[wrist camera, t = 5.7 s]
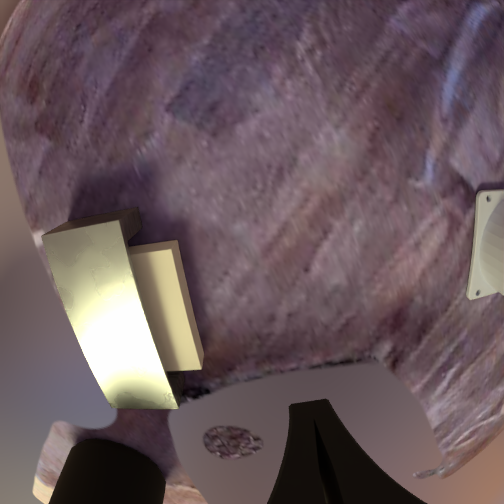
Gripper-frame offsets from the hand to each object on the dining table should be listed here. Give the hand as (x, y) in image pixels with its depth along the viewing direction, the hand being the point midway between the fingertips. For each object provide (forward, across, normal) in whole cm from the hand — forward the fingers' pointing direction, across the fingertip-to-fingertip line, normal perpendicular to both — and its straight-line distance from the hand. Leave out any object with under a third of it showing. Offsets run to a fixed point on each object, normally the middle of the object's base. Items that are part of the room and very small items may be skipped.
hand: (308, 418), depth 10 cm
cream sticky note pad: (+9, +8, 0) cm, 13 cm away
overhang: (+9, +10, 0) cm, 14 cm away
